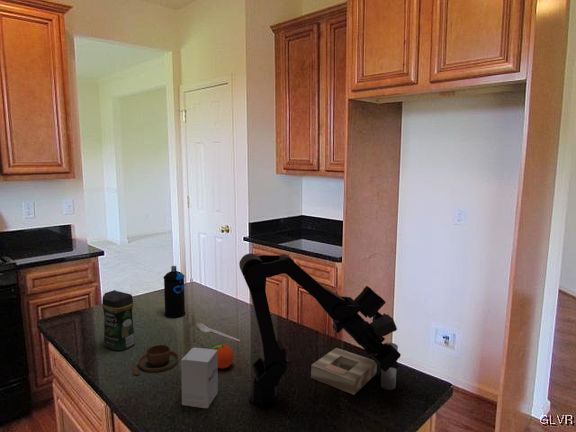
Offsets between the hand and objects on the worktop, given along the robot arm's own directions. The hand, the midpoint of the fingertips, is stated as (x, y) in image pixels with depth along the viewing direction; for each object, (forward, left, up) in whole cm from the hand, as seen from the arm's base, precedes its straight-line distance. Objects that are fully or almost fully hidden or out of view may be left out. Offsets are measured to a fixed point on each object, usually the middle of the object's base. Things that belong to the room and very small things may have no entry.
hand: (393, 363), depth 116 cm
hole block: (-4, +13, -7) cm, 15 cm away
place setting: (-34, +58, -7) cm, 68 cm away
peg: (-1, +1, -7) cm, 7 cm away
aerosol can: (-5, +90, -7) cm, 91 cm away
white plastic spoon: (-7, +63, -7) cm, 64 cm away
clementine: (-23, +45, -7) cm, 51 cm away
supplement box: (-38, +37, -7) cm, 54 cm away
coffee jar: (-34, +82, -7) cm, 89 cm away
